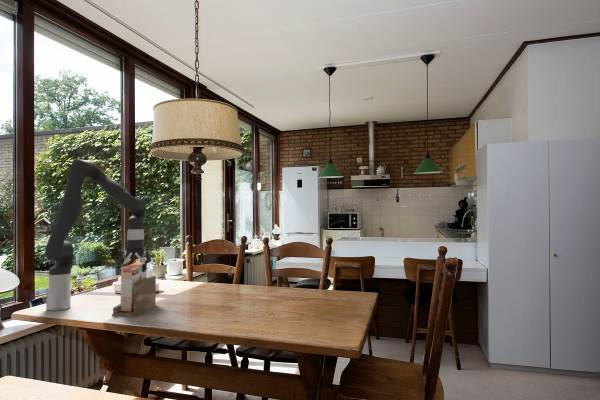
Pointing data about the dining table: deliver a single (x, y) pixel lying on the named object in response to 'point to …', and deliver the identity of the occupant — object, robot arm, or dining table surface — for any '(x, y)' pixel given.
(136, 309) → the grey l-shaped bracket
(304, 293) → the dining table surface
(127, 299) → the cracker box
